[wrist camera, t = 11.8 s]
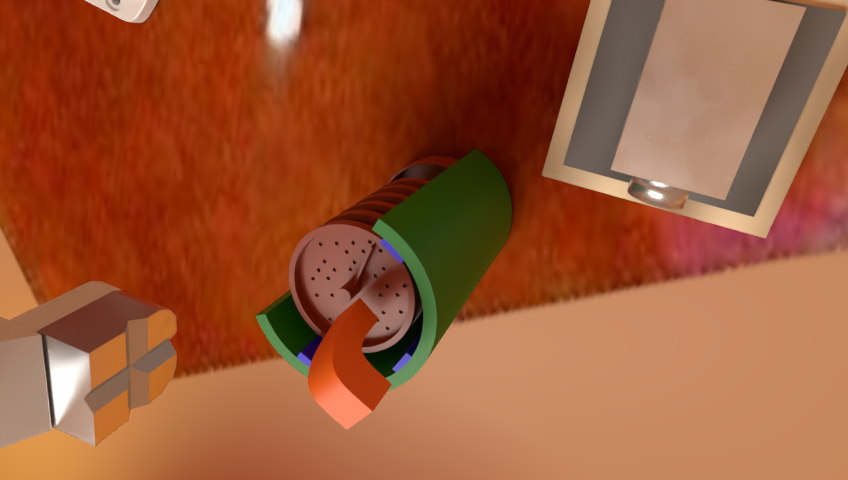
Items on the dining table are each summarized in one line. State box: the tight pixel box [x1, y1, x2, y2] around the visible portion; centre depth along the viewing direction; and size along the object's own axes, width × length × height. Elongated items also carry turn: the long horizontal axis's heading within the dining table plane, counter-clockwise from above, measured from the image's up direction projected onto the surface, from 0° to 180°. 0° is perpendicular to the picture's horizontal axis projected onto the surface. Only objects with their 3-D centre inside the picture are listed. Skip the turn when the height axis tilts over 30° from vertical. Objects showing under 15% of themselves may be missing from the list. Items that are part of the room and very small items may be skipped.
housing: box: [611, 0, 806, 209], centre depth 27 cm, size 9×5×5 cm, turn 169°
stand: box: [542, 0, 848, 238], centre depth 32 cm, size 12×12×5 cm
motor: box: [256, 148, 512, 429], centre depth 33 cm, size 10×9×20 cm
